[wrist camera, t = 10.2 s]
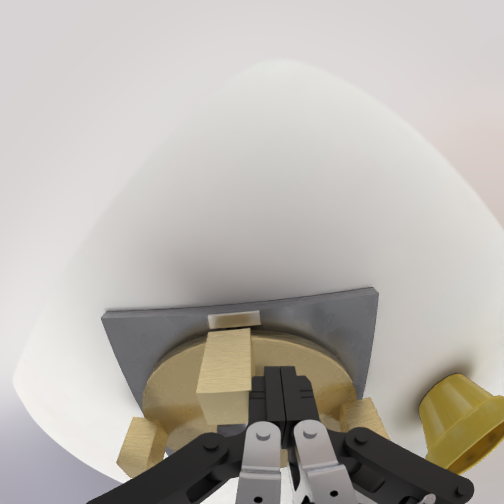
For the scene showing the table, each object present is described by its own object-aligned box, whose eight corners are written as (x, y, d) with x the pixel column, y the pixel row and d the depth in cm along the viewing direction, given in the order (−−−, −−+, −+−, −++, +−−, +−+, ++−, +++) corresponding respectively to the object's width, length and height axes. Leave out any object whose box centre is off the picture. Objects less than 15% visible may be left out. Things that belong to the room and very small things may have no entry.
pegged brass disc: (375, 296, 17) (425, 353, 10) (350, 448, 22) (364, 496, 16) (100, 325, 17) (56, 382, 11) (174, 463, 23) (166, 510, 16)
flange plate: (346, 441, 24) (349, 450, 22) (173, 454, 24) (171, 463, 23) (373, 287, 18) (380, 295, 17) (106, 311, 18) (99, 320, 17)
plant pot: (395, 399, 22) (433, 473, 12) (474, 341, 20) (527, 396, 11) (409, 435, 24) (436, 491, 15) (474, 389, 23) (510, 436, 14)
